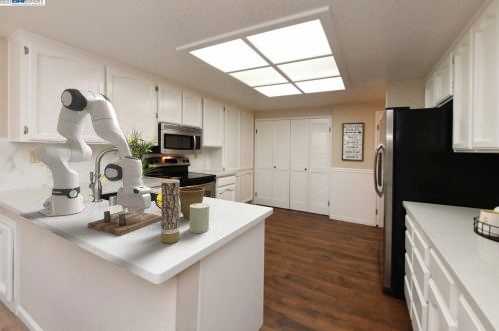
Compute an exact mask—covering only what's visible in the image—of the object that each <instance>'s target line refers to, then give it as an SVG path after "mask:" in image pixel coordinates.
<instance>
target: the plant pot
mask: <svg viewBox="0 0 499 331" xmlns="http://www.w3.org/2000/svg"><path fill="white" fill-rule="evenodd" d="M204 195H205V187H201V186H186V187H185V186H184V187H179V199H180V205H181V210H180V212H181V214H182V216H183V218H184V219H186V220H190V205H191V204H196V203H203V200H204Z"/></svg>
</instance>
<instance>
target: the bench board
mask: <svg viewBox="0 0 499 331" xmlns="http://www.w3.org/2000/svg"><path fill="white" fill-rule="evenodd" d="M132 211H133V212H132V213H139V212H140V211H137V210H132ZM110 214H111V211H110V210H106V211H103V218H102V219H98V220H95V221H90V222H88V223H87V228H89V229H93V230H98V231H101V232H104V233H110V234H113V235H117V236H121V237H122V236H124V235H126V234H130V233H132V232H136V231H137V230H140V229H143V228H145V227H148V226H150V225H153V224H155V223H158V222H160V221H161V215H159V214H154V213H147V212H143V216H142V217H141V220H139V221H136V222H133V223H131V224H128V225H125V214H119V223H115V222H110Z"/></svg>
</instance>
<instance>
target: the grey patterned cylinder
mask: <svg viewBox="0 0 499 331" xmlns="http://www.w3.org/2000/svg"><path fill="white" fill-rule="evenodd" d="M179 188H180V179H173V178H171V179H169V178H167V179H162V180H161V202H160V203H161V206H160V207H161V212H160V213H161V215H160V216H161V231H160V232H161V242H162V243H164V244H167V245H168V244H174V243H177V242H179V240H180V217H179Z"/></svg>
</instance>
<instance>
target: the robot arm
mask: <svg viewBox="0 0 499 331" xmlns="http://www.w3.org/2000/svg"><path fill="white" fill-rule="evenodd" d="M60 101H61V103H62V105H61V108H60V111H59V116H58V119H57V125H56V132H57V133H58V134H59V135H60V136H62V137H63V138H65V139H66V142H54V141H53V142H52V141H51V142H44V143H40V144H38V145H37V146H36V147H35V149H34V156H35V158H36V159H37V161H39V162H41V163H42V164H43V165H45V166H46V167H48V169H49V170H50V171H49V172H51V175H52V182H53V183H52V184H53V188H52V189H51V194H50V196H49V197H48V198H47V199H46V200H45V201H44V202H43V204H42V205H43V208H42V209H39V210H38V212H39V213H40V214H42V215H44V216H45V217H57V216H59V217H60V216H69V215H70V216H71V215H74V214H78V213H82V212H83V211H84V210H85V209H86V206H85V205H84V197H83V195H82V194H81V186H80V174H79V172H77V171H76V170H74V169H72V168H70V167H69V165H68V164H69V163H82V162H86V161H89V160H90V159H91V158H92V156H93V150H92V148H91V147H90V146H89V145H88V144H87V143H86V142H85V138H84V132H85V131H84V128H85V123H86V119H87V116H88V114H89V115H90V119H91V124H92V128H93V130H94V133H95V135H96V136H98V137H99V138H100V139H102V140H104V141H107V142H109V143H111V144H112V145H113V146H114V147H116V149H117V151H118V154H119V155H120V158H121V159H119V160H117V161H115V162H110V163H108V164H106V166H105V168H104V169H103V173H104V177H105V178H106V180H108V181H109V182H122V187H121V186H120V187H119V188H118V189H117V193H116V198H115V200H116V201H115V202H116V205H117V206H121V208H122V211H127V212H129V211H130V210H129V209H128V207H129V208H133V209H134V208H135V209H138V210H139V211H138V212H139V213H138V214H141V217H142V216H143V213H145V212H144V211H145V210H147V209H149V208H150V207H151V205H152V196H151V194H150V193H151V188H150V187H148V186H147V185H145V184H144V183H143V182H144V181H143V179H142V177H143V163H142V160H141V158H140V157H138V156H134V153H133V152H132V148H131V146H130V144H129V141H128V138H127V136H126V135H125V133H123V131H122V129H121V127H120V124H119V120H118V117H117V113H116V111H115V109H114V107H113V104H112V102H111V100H110V98H109V97H108V96H106V95H104V94H101V93H98V92H97V93H96V92H93V91H91V90H83V89H77V88H66V89H64V90H63V91H62V93H61V96H60Z"/></svg>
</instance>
